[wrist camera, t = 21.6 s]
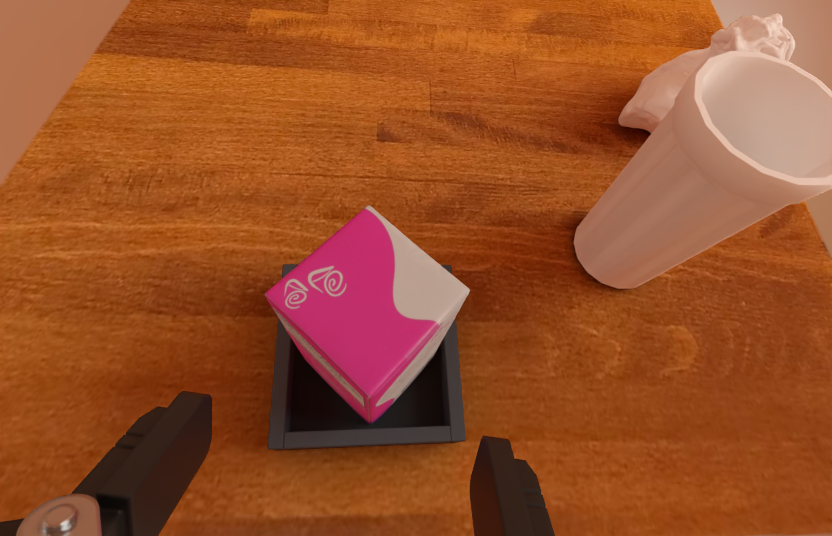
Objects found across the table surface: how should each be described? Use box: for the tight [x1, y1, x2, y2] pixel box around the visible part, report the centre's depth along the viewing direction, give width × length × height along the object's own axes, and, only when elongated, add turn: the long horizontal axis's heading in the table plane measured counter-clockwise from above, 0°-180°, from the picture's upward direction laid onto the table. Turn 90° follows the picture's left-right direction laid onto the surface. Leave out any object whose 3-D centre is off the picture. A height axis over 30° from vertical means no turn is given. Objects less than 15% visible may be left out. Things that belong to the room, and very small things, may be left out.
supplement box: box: [265, 206, 470, 425], centre depth 22 cm, size 6×6×12 cm
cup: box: [574, 51, 832, 289], centre depth 26 cm, size 8×8×14 cm
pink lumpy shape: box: [618, 14, 795, 134], centre depth 34 cm, size 12×8×11 cm
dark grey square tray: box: [268, 264, 466, 450], centre depth 26 cm, size 10×10×3 cm
